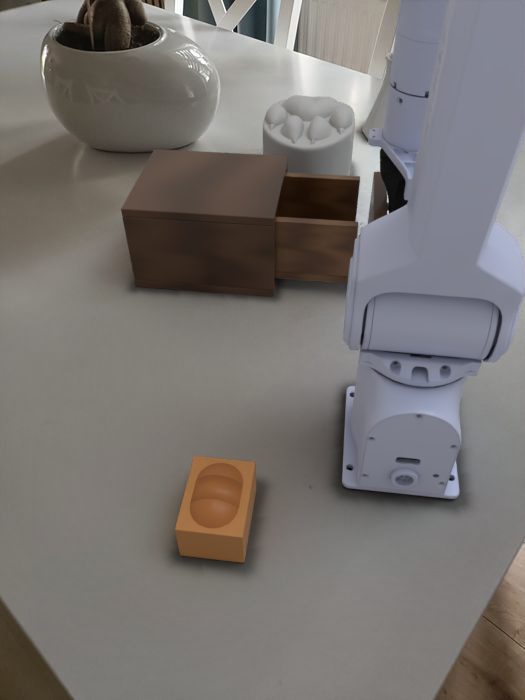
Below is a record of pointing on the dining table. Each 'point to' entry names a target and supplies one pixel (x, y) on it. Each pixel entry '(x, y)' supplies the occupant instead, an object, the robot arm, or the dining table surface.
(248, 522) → the block with oval recess
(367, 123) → the flask
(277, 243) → the drawer
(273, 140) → the lumpy-topped squat cylinder
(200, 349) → the dining table surface
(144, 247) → the cabinet
